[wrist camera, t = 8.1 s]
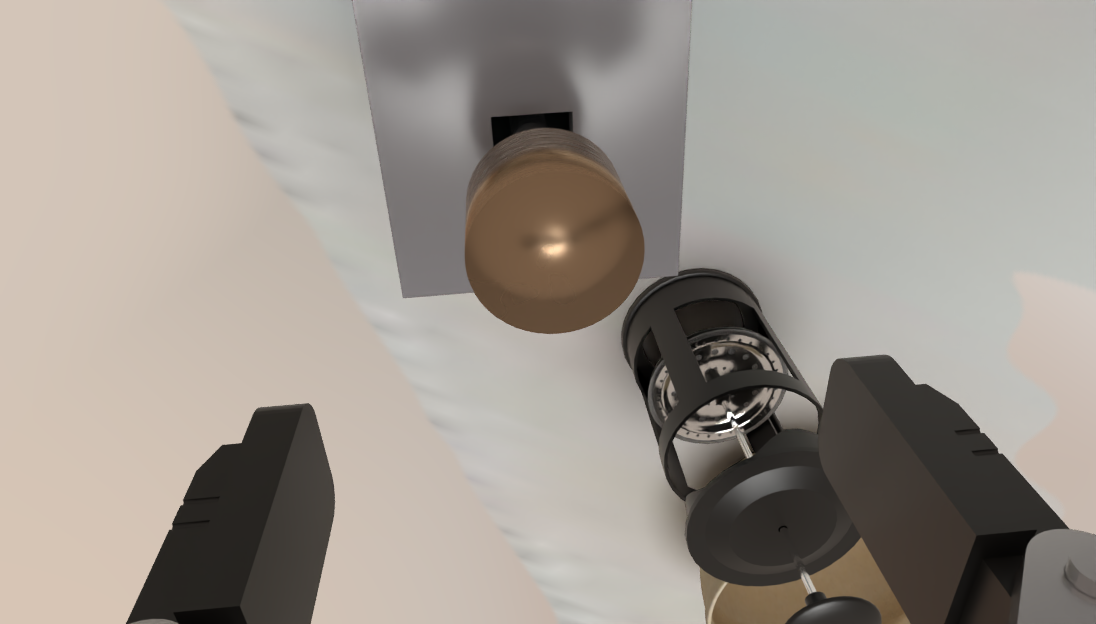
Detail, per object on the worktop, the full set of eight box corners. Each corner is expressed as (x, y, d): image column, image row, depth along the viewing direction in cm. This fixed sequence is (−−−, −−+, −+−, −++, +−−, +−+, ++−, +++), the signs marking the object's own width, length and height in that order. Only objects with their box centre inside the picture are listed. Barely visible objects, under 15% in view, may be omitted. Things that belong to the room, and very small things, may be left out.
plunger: (568, -32, 36) (696, 113, 15) (571, 94, 39) (682, 357, 18) (442, -24, 35) (398, 135, 15) (457, 102, 38) (436, 378, 18)
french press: (585, 325, 48) (661, 641, 29) (700, 233, 46) (870, 512, 26) (691, 422, 53) (817, 747, 34) (800, 344, 51) (1007, 649, 31)
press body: (595, -74, 36) (693, -23, 20) (597, 113, 41) (678, 275, 25) (407, -62, 36) (351, -1, 20) (431, 125, 41) (402, 298, 24)
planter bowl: (702, 398, 52) (751, 513, 43) (909, 416, 55) (998, 528, 46) (649, 555, 60) (681, 680, 51) (832, 564, 63) (894, 685, 54)
